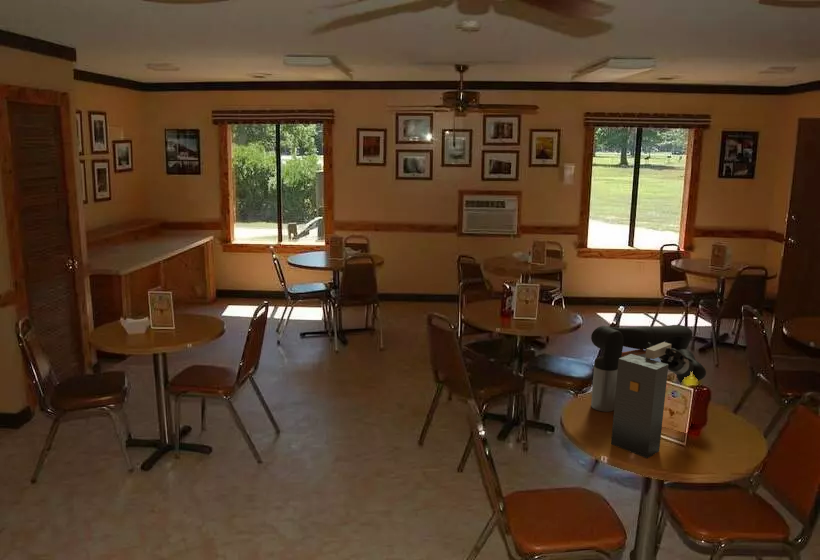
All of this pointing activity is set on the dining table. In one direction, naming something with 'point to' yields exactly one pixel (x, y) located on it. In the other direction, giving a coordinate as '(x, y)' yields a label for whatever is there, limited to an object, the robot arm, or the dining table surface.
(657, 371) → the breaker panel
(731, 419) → the dining table surface
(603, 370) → the robot arm
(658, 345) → the handle
